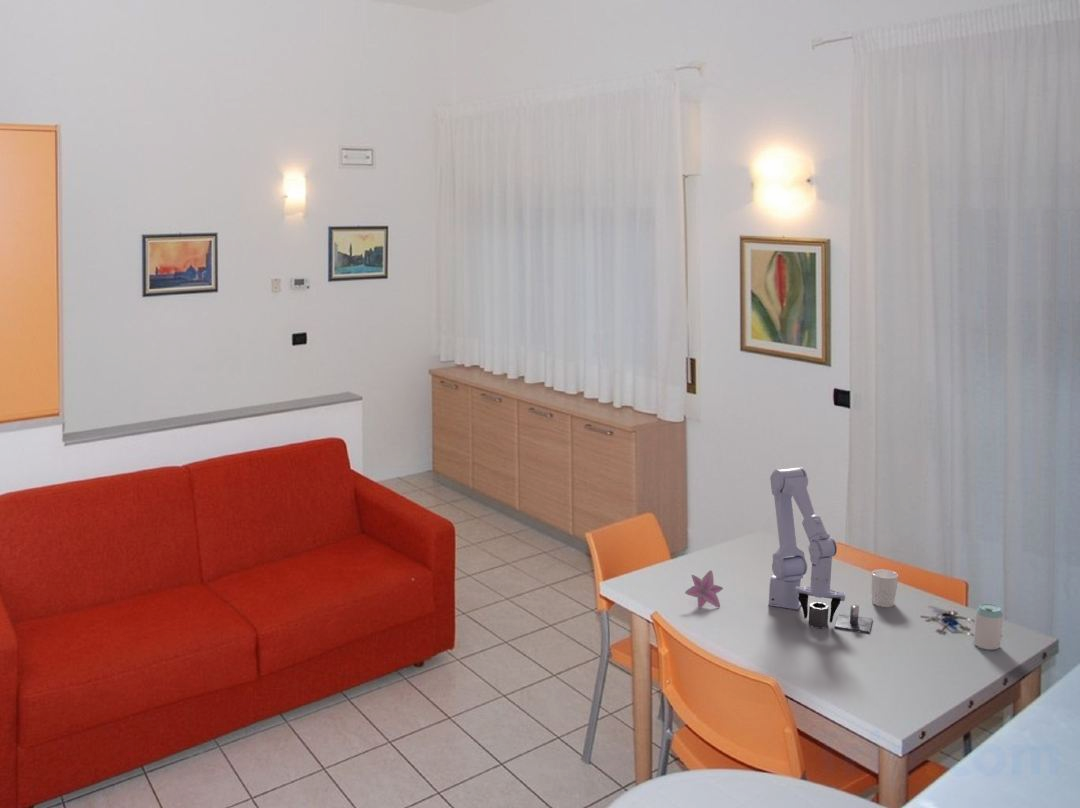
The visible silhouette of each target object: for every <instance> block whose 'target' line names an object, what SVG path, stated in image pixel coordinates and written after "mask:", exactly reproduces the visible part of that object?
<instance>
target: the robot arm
mask: <svg viewBox="0 0 1080 808" xmlns="http://www.w3.org/2000/svg"><path fill="white" fill-rule="evenodd" d="M769 478H770V479H769V480H770V487H771V488H770V489H771V494H772V495H773V498H774V500H773V501H774V507H775V515H776V517H775V518H776V526H777V534H778V542H779V543H778V545H779V548H778V549H777V550H776V551H775V552H774V553H772V564H771V570H772V572H773V574H771V577H770V581H769V593H768V604H767V605H768V606H771V607H776V608H777V607H778V608H784V609H791V610H797V611H799V610H800V608H801V609H802V612H803V618H804V619H805V620H806V619H808V616H809V613H808V612H809V610H808V609H809V607H808V606H809V605H808V604H809V603H808V602H809V596H811V597H814V598H819V599H822V598H824V599H831V601H830V613H829V614H830V615H829V623H833V620H834V616H835V613H836V611H837V609H838V608H839V606H840V605H841V602H845V600H846V592H841V591H836V590H834V589H831V581H832V580H831V579H832V562H833V557H835V556H836V554H837V552H838V551H837V550H838V547H837V543H836V541H835V539H834V538H833V537H831V535H830V534H828V533H827V530H826V528H825V526H824V523H823V521H822V519H821V516H819V515H818V514H816V513H815V510H814V507H813V504H812V500H811V498H810V494H809V491H808V489H807V487H808V485H809V478H808V474H807V471H806V469H804V467H802V466H798V467H793V468H784V469H777V468H776V469H774V470H773V471H772V473H771V474H770V477H769ZM792 497H793V499H794V502H795V503H796V506H797V507H798V509H799V511H800V513H801V515H802V517H803V520H802V527H803V530H804V531H805V534H806V536H807V539H808V542H809V545H808V547H807V548H808V553H809V559H810V562H811V573H810V574H811V575H810V586H801V583H802V581H801V579H803V578H804V575H806V574H807V573H808V572H807V570H808V563H807V559H806V558H805V553H804V551H803V550H801V548H799V547H798V546H797V537H796V531H795V530H796V529H795V528H796V527H795V522H794V521H795V520H794V511H793V510H794V509H793V502H792V501H793V499H792Z"/></svg>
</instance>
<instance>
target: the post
mask: <svg viewBox="0 0 1080 808" xmlns="http://www.w3.org/2000/svg"><path fill="white" fill-rule="evenodd" d="M849 610H850V613H849V614H844V613H838V614H837V617H836V621H835V625H834V628H835V629H837V630H844V629H845V630H844V631H850V630H853V632H857V631H860V632H859V633H863V632H866V633H865V634H870V632H871V627H872V623H873V618H870V617H864V616H859V615H860V614H859V612H860V611H859V610H860V606H859V605H858V604H851V605H850V609H849Z"/></svg>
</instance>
